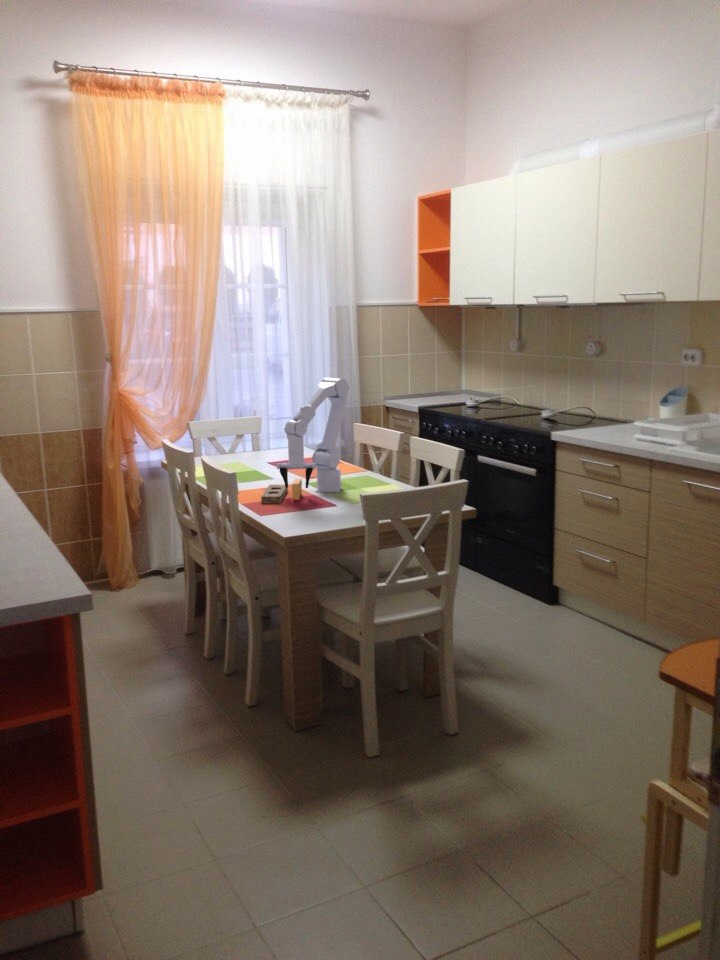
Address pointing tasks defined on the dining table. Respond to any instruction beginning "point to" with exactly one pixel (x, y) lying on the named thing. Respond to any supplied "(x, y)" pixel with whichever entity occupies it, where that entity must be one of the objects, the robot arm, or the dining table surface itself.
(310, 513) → the dining table surface
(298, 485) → the tan wooden beam
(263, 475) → the dining table surface
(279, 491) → the rail
